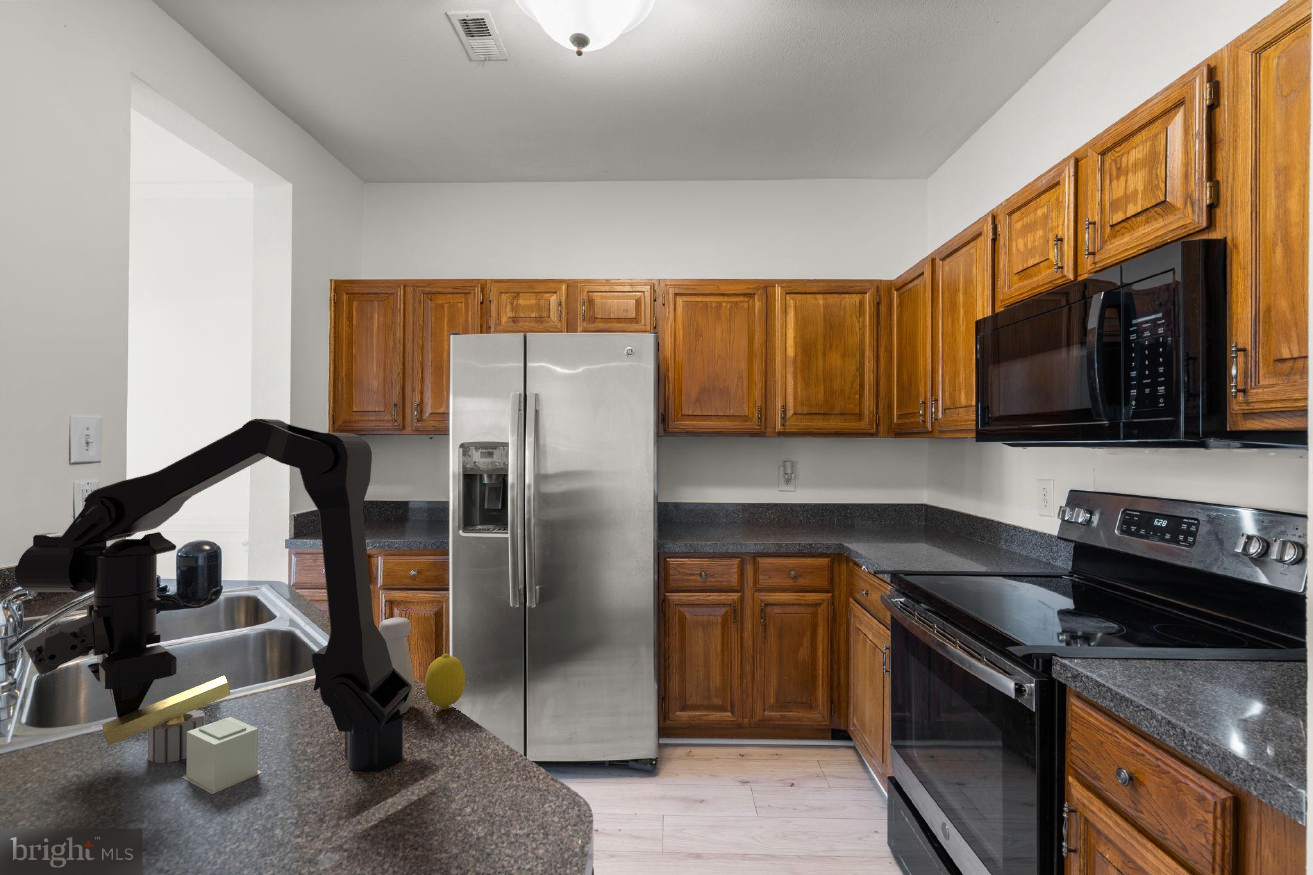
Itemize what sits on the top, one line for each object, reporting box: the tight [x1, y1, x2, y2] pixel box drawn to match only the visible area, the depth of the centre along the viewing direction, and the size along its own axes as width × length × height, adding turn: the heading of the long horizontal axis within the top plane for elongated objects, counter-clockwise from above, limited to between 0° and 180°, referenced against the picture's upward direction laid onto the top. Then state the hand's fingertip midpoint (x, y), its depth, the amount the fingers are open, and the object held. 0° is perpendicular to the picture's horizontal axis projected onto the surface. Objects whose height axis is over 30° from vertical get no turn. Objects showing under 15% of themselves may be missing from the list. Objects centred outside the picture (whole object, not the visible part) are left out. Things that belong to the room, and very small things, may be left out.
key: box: [102, 675, 231, 747], centre depth 78 cm, size 12×2×6 cm, turn 131°
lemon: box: [424, 653, 466, 711], centre depth 93 cm, size 6×6×8 cm
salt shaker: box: [378, 616, 417, 715], centre depth 93 cm, size 6×6×13 cm
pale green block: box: [185, 716, 259, 791], centre depth 73 cm, size 6×4×5 cm
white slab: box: [147, 709, 263, 795], centre depth 75 cm, size 17×10×5 cm, turn 60°
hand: (124, 724), depth 76 cm, fingers closed
